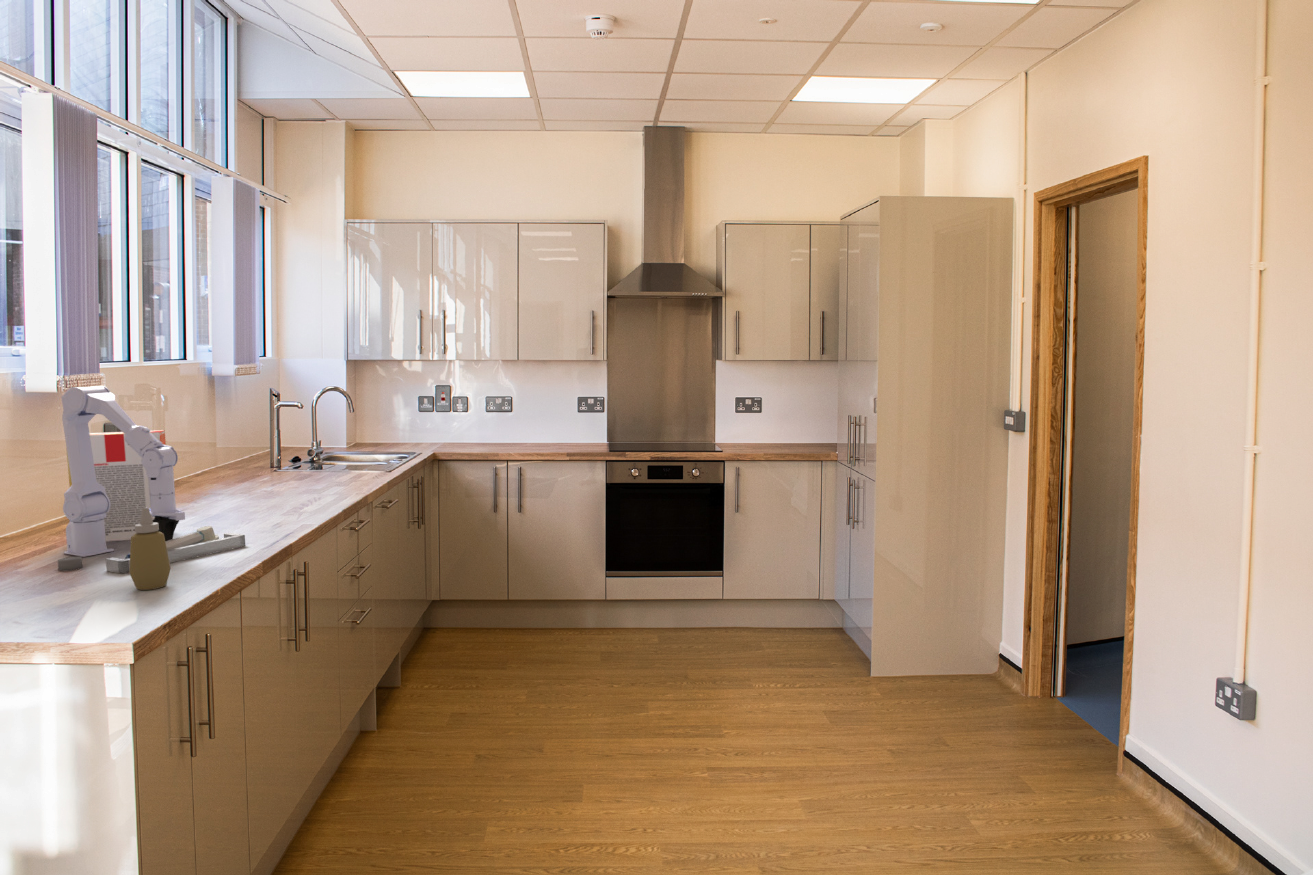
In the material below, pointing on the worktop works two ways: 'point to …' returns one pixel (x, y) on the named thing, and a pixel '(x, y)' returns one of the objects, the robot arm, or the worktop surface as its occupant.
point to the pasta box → (121, 482)
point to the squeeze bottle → (148, 555)
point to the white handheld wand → (191, 539)
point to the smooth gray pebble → (70, 563)
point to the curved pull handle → (184, 552)
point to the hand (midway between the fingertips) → (166, 545)
